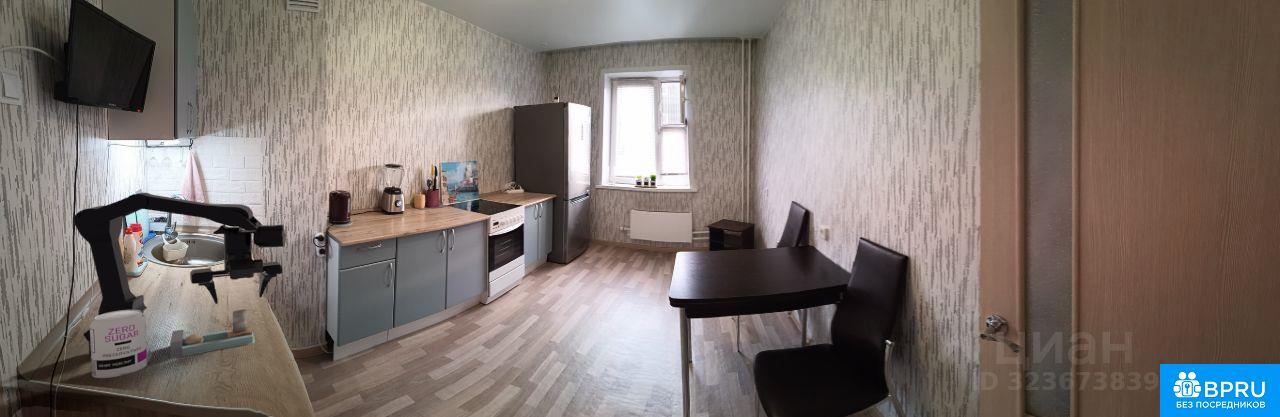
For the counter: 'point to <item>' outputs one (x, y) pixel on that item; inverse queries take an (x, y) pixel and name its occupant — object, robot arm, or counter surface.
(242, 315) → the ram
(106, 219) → the robot arm
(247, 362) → the counter surface
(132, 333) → the supplement can
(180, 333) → the grey angular block
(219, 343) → the board
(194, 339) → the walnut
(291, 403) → the counter surface
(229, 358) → the counter surface
